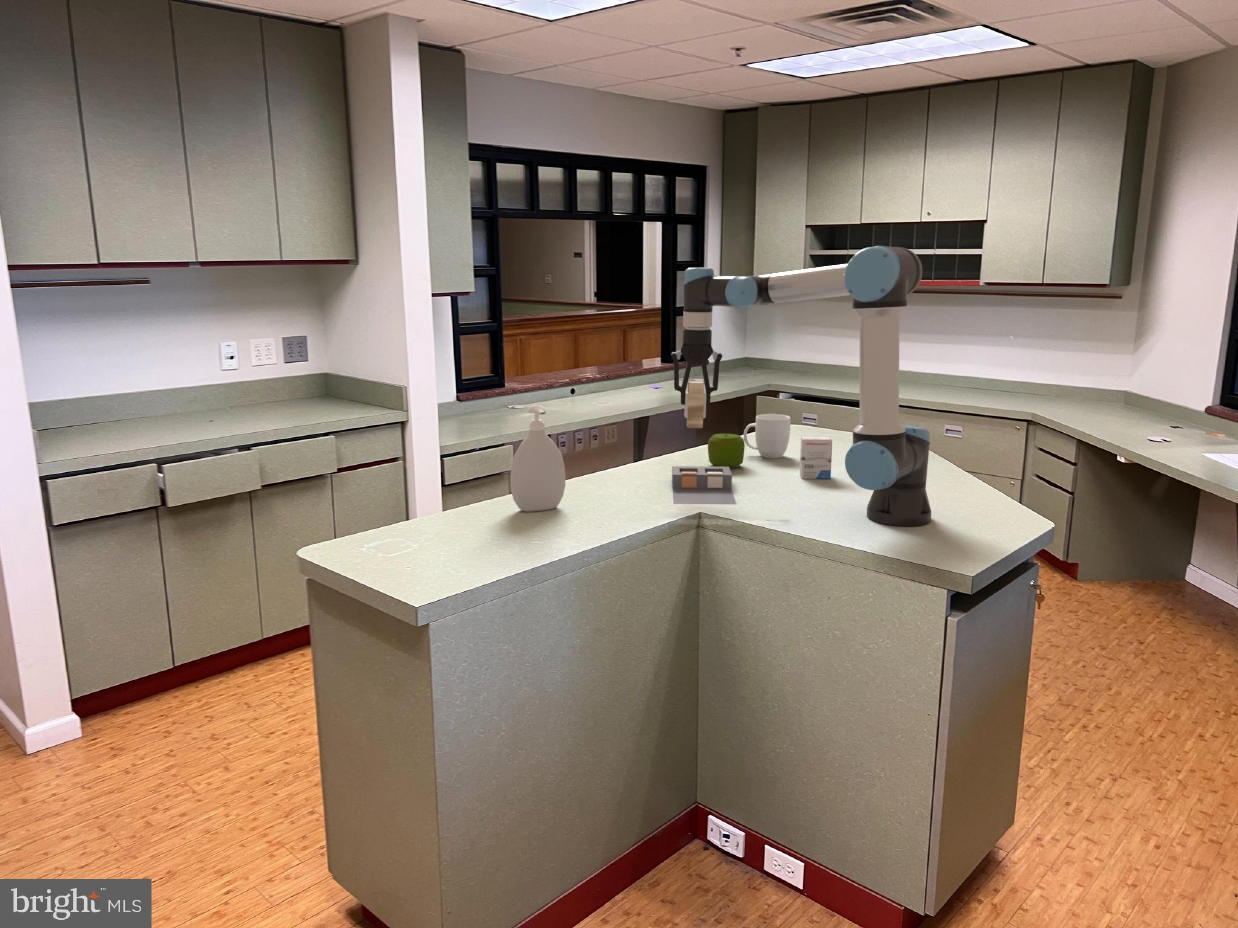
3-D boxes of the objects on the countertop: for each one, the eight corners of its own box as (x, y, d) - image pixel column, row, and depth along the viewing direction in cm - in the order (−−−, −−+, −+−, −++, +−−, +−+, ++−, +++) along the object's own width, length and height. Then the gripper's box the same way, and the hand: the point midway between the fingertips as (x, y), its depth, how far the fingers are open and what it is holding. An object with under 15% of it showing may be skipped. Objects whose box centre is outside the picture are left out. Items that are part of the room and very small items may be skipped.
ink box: (828, 475, 259) (830, 436, 257) (830, 479, 255) (832, 439, 252) (798, 474, 260) (800, 435, 258) (800, 478, 255) (802, 439, 253)
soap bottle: (517, 517, 217) (514, 409, 211) (507, 509, 224) (504, 404, 218) (572, 510, 223) (570, 405, 217) (561, 502, 230) (559, 400, 224)
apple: (745, 463, 275) (747, 429, 272) (741, 471, 264) (742, 435, 262) (710, 461, 278) (711, 427, 275) (704, 469, 267) (705, 434, 265)
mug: (739, 457, 283) (740, 417, 280) (746, 451, 293) (747, 412, 290) (785, 461, 278) (787, 420, 275) (791, 454, 288) (793, 415, 285)
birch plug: (702, 428, 232) (704, 383, 230) (687, 427, 233) (688, 382, 230) (701, 425, 236) (703, 380, 234) (686, 425, 236) (687, 380, 234)
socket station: (736, 508, 224) (737, 487, 223) (673, 507, 225) (673, 487, 224) (728, 483, 250) (728, 464, 248) (671, 483, 250) (671, 464, 249)
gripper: (728, 327, 232) (725, 414, 237) (664, 327, 232) (662, 414, 238) (731, 329, 225) (728, 419, 230) (665, 329, 225) (663, 419, 230)
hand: (695, 416), depth 234 cm, fingers closed on birch plug, 4 cm apart
